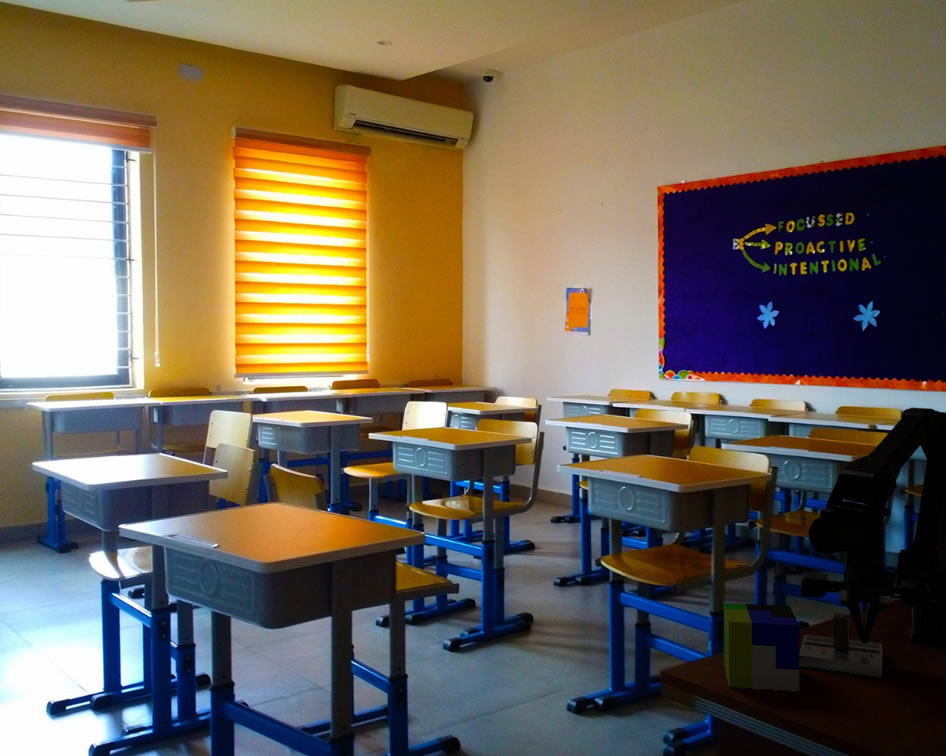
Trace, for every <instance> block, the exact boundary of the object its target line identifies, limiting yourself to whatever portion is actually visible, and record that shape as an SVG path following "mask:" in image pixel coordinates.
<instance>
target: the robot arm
mask: <svg viewBox="0 0 946 756" xmlns="http://www.w3.org/2000/svg"><path fill="white" fill-rule="evenodd" d="M901 414H902V415H901V418H900V420H899V421H898V422H897V423H896V424H895V425H894V426H893V427H892V429H890V431H889V432H888V433H886V435H885V437H884V438H883V439H882V440H881V441H880V442H879V443H878V445H876V447H875V448H874V449H873V450H872V451H871V452H870V453H869V454H868V455H865V456H862V457H859V458H857V459H854V460H853V461H851V462H850V463H849V464H848V465H846V466H845V467H843V469H842V470H841V471H840V473H839V475H838V477H837V479H836V481H835V483H834V485H833V488H832V491H831V492H830V495H829V497H828V499H827V501H826V504H825V508H823V509H820V510H819V517H817V518H815V520H813V521H812V523H811V524H810V526H809V528H808V539H809V541H810V544H811V545H812V547H813V548H814V550H816V551H817V553H820V554H822V555H826V556H828V555H833V554H838V553H843V552H844V571H843V580H831V579H829V573H821V572H810V571H806V572H805V573H804V574H803V576H802V578H801V582H800V583H801V584H800V596H802V597H807V598H817V599H822V598H824V597H825V596H826V595H827V594H828V593H836V594H837V593H838V596H839V599H838V600H839V602H838V603H839V605H842V606H845V607H846V608H847V609H848V611H849V613H850V615H851V617H852V620H853V622H854V624H855V628H856V630H857V635H858V637H859V641H861V643H867V642H869V641H868V640H869V638H870V636H871V633H872V629H873V627H874V624H875V623H876V622H875V621H876V620H877V618H878V616H879V614H880V613H881V611H882V610H889V609H890V600H891V599H900V600H901V601H902V602H903V604H905V605H906V606H907V607H911V609H912V611H911V612H912V613H911V617H912V618H911V620H912V621H911V627H910V628H909V629H908V632H909V641H910V642H912V643H913V642H914V643H921V644H931V645H938V646H939V645H940V646H946V411H945V412H944V411H939V410H937V409H936V410H935V408H927V407H909V408H906V409H905V410H904V411H903V412H902V413H901ZM920 447H921V450H922V452H923V454H924V457H925V458H926V464H925V470H924V476H923V483H922V489H921V496H920V501H919V507H918V514H917V521H916V526H915V533H914V539H913V542H912V543H911V545H910V546H909V547H908V548H906V549H900V550H899V553H898V560H897V566H896V568H895V572H891V571H885V562H884V561H885V556H884V555H885V532H884V531H885V522H884V521H885V519H884V518H885V517H890V516H892V512H891V510H890V509H889V508H887V507H886V506H885V504H887V502H889V500H890V498H891V497H892V495H893V493H894V492H895V490H896V488H897V486H898V485H897V475H898V474H899V472H900V470H901V469H902V468H903V467H904V466H905V464H906V463H907V462H908V461H909V459H910V458H911V457H912V456H913V455H914V453H915V452H916V451H917V450H919V448H920ZM895 583H896V585H895ZM862 603H863V604H867V608H866V615H865V616H866V617H865V624H864V618H863V611H862V610H863V609H862Z"/></svg>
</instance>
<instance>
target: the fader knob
mask: <svg viewBox="0 0 946 756" xmlns="http://www.w3.org/2000/svg"><path fill="white" fill-rule="evenodd" d="M833 638H834V648H839V649H848V648H849V640H850V614H849V613H844V612H839V613H838V612H834V614H833Z"/></svg>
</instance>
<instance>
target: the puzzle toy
mask: <svg viewBox="0 0 946 756" xmlns="http://www.w3.org/2000/svg"><path fill="white" fill-rule="evenodd" d="M799 652H800V624H799V621H798V619H797V618H796V616H795V614H794V612H793V610H792V608H791V605H789V604H788V605H787V604H786V605H784V604H781V605H780V604H763V603H762V604H761V603H759V604H758V603H740V602H739V603H736V602H735V603H734V602H723V666H724V671H725V675H726V680H728V681H727V684H728V685H729V686H728V688H729V687H743V688H742V689H745V688H752V689H751V690H761V689H766V691H768V690H767V689H773V690H772V691H778V690H791V691H790V692H794V691H799V692H800V667H799Z"/></svg>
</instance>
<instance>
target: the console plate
mask: <svg viewBox="0 0 946 756" xmlns="http://www.w3.org/2000/svg"><path fill="white" fill-rule="evenodd" d="M799 666H802V667H801V668H806V667H811V668H810V669H814V668H821V669H826V670H825V671H829V670H833V671H832V672H837V671H840V672H839V673H844V672H846V674H852V673H855V674H854V675H860V674H861V675H863V676H870V677H875V678H876V677H878V678H883V643H879V642H871V641H867V643H861V640H855V639H849V648H848V649H839V648H834V637H828V636H818V635H811V634H810V635H809V634H804V635H803V638H802V642H801V645H800V648H799ZM821 669H820V670H821Z"/></svg>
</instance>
